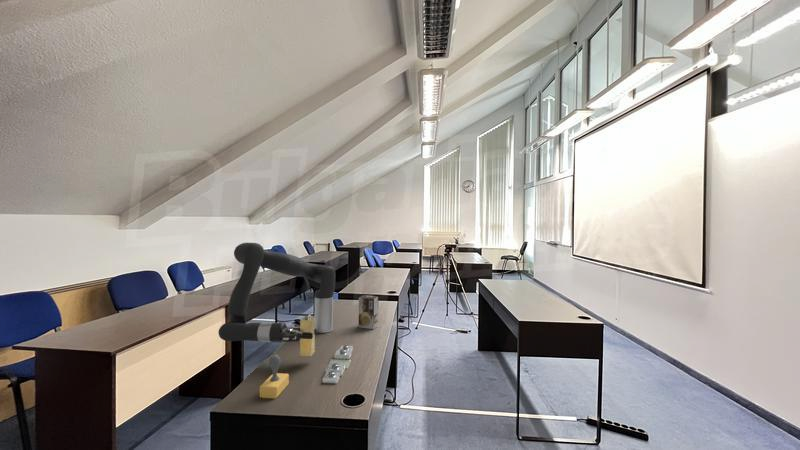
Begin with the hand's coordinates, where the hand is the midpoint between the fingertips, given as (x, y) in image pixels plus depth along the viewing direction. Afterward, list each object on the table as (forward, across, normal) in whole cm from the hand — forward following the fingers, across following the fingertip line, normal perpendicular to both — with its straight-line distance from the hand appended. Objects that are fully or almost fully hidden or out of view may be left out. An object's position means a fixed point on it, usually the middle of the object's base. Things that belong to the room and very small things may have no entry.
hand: (314, 333), depth 138 cm
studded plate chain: (+10, 0, +12) cm, 16 cm away
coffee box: (+15, +48, +12) cm, 52 cm away
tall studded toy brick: (-3, 0, +8) cm, 8 cm away
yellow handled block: (-7, -22, +12) cm, 26 cm away
